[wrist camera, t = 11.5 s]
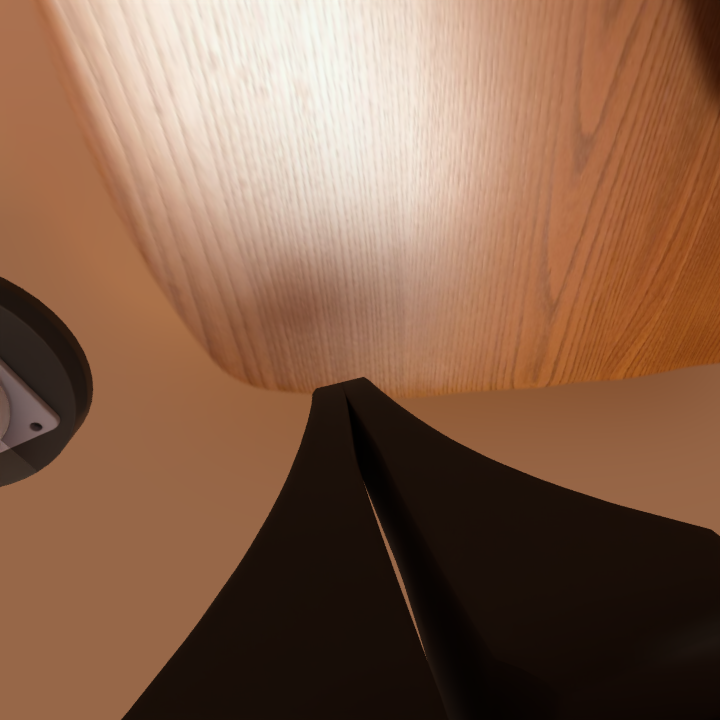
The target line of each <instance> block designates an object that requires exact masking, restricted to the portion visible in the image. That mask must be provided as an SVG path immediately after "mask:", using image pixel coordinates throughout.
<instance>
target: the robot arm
mask: <svg viewBox="0 0 720 720" xmlns="http://www.w3.org/2000/svg"><path fill="white" fill-rule="evenodd" d="M34 422H35V423H39V424H41V425H42V427H41V426H37V425H36V424H35V423H34ZM59 423H60V417H59V415H58V414H57V413H56V412H55V411H54V410H53V409H52V408H51V407H50V406H49V405H48V404H47V403H46V402H45V401H44V400H43V399H42V398H41V397H40V396H38V395H37V394H36V393H35V392H34V391H33V390H32V389H31V388H30V387H29V386H28V385H27V384H26V383H25V382H24V381H23V380H22V379H21V378H20V377H19V376H18V375H17V374H16V373H15V372H14V371H13V370H12V369H11V368H10V367H9V366H8V365H7V364H6V363H5V362H4V361H3V360H2V359H1V358H0V453H1V452H3V451H5V450H7V449H10V448H12V447H14V446H17V445H19V444H21V443H23V442H26V441H28V440H30V439H32V438H35V437H37V436H39V435H41V434H44V433H46V432H48V431H50V430H53V429H54V428H56V427H57V426H58V424H59ZM363 481H364V482H363ZM364 484H365V485H364ZM365 486H366V488H365ZM366 489H367V491H368V494H369V496H370V499H371V501H372V504H373V506H374V509H375V511H376V514H377V516H378V518H379V521H380V523H381V526H382V528H383V531H384V533H385V536H386V538H387V540H388V543H389V546H390V548H391V550H392V553H393V555H394V558H395V560H396V563H397V565H398V568H399V571H400V574H401V577H402V579H403V582H404V585H405V589H406V592H407V595H408V598H409V601H410V605H411V608H412V611H413V614H414V618H415V621H416V624H417V628H418V631H419V634H420V637H421V641H422V644H423V647H424V650H425V653H424V651H423V648H422V645H421V642H420V640H419V637H418V634H417V631H416V629H415V626H414V624H413V621H412V618H411V615H410V612H409V610H408V607H407V604H406V602H405V599H404V596H403V594H402V591H401V588H400V585H399V583H398V580H397V577H396V574H395V571H394V569H393V566H392V563H391V560H390V557H389V555H388V552H387V549H386V546H385V543H384V540H383V538H382V535H381V532H380V529H379V526H378V524H377V520H376V517H375V515H374V512H373V509H372V506H371V503H370V500H369V497H368V494H367V491H366ZM425 654H426V656H425ZM426 657H427V658H426ZM427 660H428V661H427ZM121 720H720V536H719V535H718V534H716V533H715V532H714V531H712V530H711V529H707V528H703V527H700V526H696V525H692V524H688V523H685V522H681V521H677V520H673V519H669V518H666V517H662V516H658V515H654V514H651V513H647V512H643V511H639V510H635V509H632V508H628V507H624V506H620V505H617V504H613V503H610V502H607V501H604V500H601V499H598V498H595V497H591V496H588V495H585V494H582V493H579V492H576V491H573V490H570V489H567V488H564V487H561V486H558V485H555V484H553V483H550V482H547V481H544V480H541V479H539V478H536V477H533V476H531V475H528V474H526V473H523V472H521V471H519V470H516V469H514V468H511V467H509V466H506V465H504V464H501V463H499V462H497V461H495V460H492V459H490V458H488V457H486V456H484V455H482V454H480V453H477V452H476V451H474V450H471V449H469V448H468V447H466V446H464V445H461V444H460V443H458V442H456V441H454V440H452V439H450V438H449V437H447V436H445V435H443V434H442V433H440V432H439V431H437V430H435V429H434V428H432V427H431V426H429V425H427V424H426V423H424V422H423V421H421V420H420V419H418V418H417V417H415V416H414V415H413V414H411V413H410V412H408V411H407V410H405V409H404V408H403V407H401V406H400V405H398V404H397V403H396V402H395V401H393V400H392V399H391V398H390V397H388V396H387V395H386V394H385V393H383V392H382V391H381V390H380V389H379V388H377V387H376V386H375V385H374V384H373V383H372V382H371V381H369V380H368V379H367V378H365V377H361V378H357V379H353V380H349V381H345V382H341V383H337V384H333V385H329V386H325V387H321V388H317V389H315V391H314V392H313V394H312V405H311V410H310V414H309V418H308V422H307V425H306V429H305V432H304V435H303V438H302V442H301V445H300V447H299V450H298V453H297V455H296V457H295V460H294V462H293V465H292V468H291V470H290V473H289V475H288V477H287V480H286V482H285V484H284V486H283V488H282V490H281V492H280V494H279V496H278V498H277V500H276V502H275V504H274V506H273V508H272V510H271V512H270V513H269V515H268V517H267V519H266V520H265V522H264V524H263V526H262V527H261V529H260V531H259V533H258V534H257V536H256V538H255V539H254V541H253V543H252V544H251V546H250V548H249V549H248V551H247V553H246V554H245V556H244V558H243V559H242V560H241V562H240V563H239V565H238V567H237V568H236V570H235V571H234V573H233V574H232V575H231V577H230V578H229V580H228V581H227V582H226V584H225V585H224V587H223V588H222V590H221V591H220V592H219V594H218V595H217V597H216V598H215V600H214V601H213V603H212V604H211V605H210V607H209V608H208V610H207V611H206V613H205V614H204V615H203V617H202V618H201V620H200V621H199V622H198V624H197V625H196V626H195V628H194V629H193V630H192V632H191V633H190V634H189V636H188V637H187V638H186V640H185V641H184V642H183V644H182V645H181V646H180V647H179V648H178V650H177V651H176V652H175V653H174V655H173V656H172V657H171V658H170V660H169V661H168V662H167V664H166V665H165V666H164V667H163V669H162V670H161V671H160V672H159V674H158V675H157V676H156V677H155V678H154V680H153V681H152V682H151V684H150V685H149V686H148V687H147V689H146V690H145V691H144V692H143V694H142V695H141V696H140V697H139V699H138V700H137V701H136V702H135V704H134V705H133V706H132V708H131V709H130V710H129V711H128V712H127V713H126V715H125V716H124V717H123V718H122V719H121Z"/></svg>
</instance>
